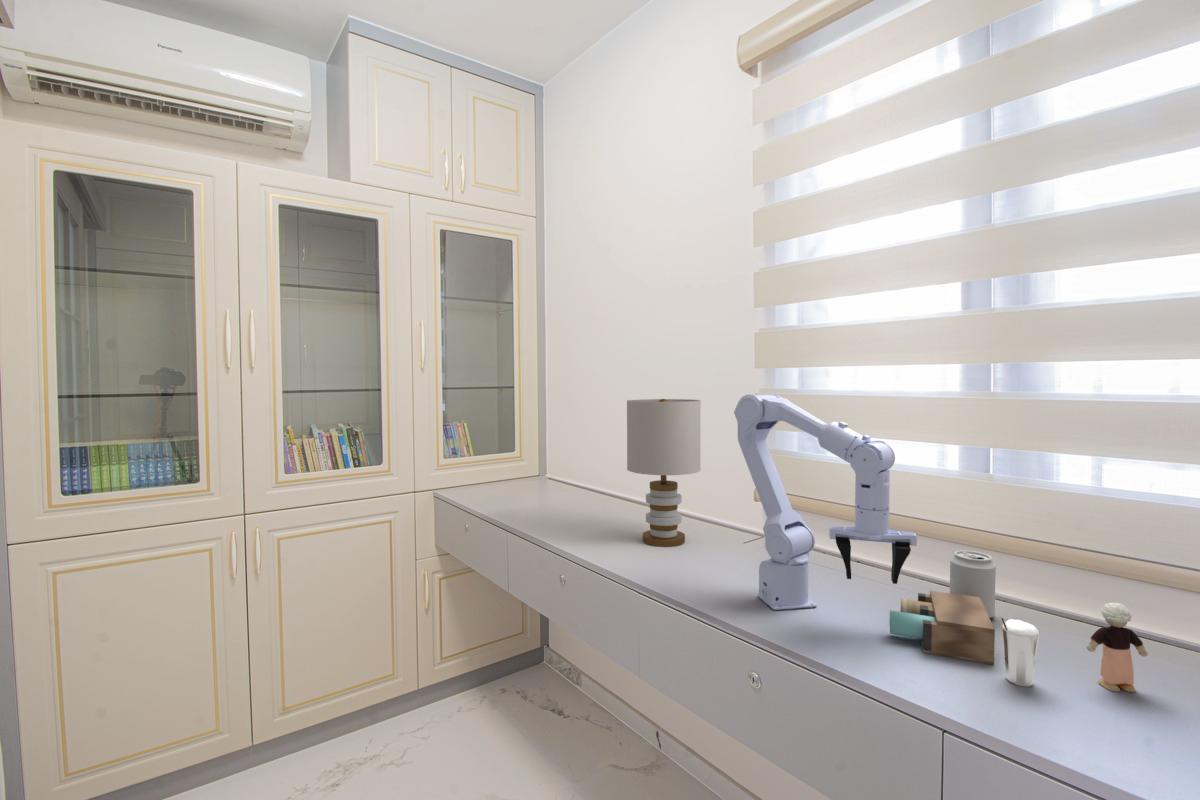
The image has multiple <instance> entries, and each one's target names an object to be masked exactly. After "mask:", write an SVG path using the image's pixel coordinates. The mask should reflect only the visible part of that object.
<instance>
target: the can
mask: <svg viewBox="0 0 1200 800" xmlns="http://www.w3.org/2000/svg"><path fill="white" fill-rule="evenodd" d="M953 554H954V555H953V556H952V557H951V558H950V561H949V593H952V594H959V595H966V596H974V597H980V599H981V601H982V603H983V605H984V608H985V610H986V612H987V614H988V616H989V618H990V619H991V618H993V617H995V616H996V615H995V613H996V576H997V575H996V574H997V573H996V572H997V571H996V569H997V568H996V566H997V565H996V564H995V562H993V557H992V556H991V555H990V554H987V553H984V552H980V551H975V550H964V549H963V550H961V549H960V550H956V551H954V553H953Z"/></svg>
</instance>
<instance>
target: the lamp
mask: <svg viewBox="0 0 1200 800" xmlns="http://www.w3.org/2000/svg"><path fill="white" fill-rule="evenodd" d="M701 468H702V467H701V400H700V399H688V398H687V399H685V398H684V399H682V398H681V399H680V398H677V399H676V398H673V399H672V398H658V399H657V398H656V399H655V398H653V399H652V398H649V399H648V398H647V399H628V400H626V470H627V471H628V472H630V473H635V474H640V475H649V476H660V479H658V480H653V481H650V482H649V492H648V493H646V494H645V503H646V504H648V505H649V512H647V513H646V514H645V522H646V523H647V524H648V525H649V527H650V530H646V531H644V532H643V533H642V542H643V544H644V543H645V544H646V545H649V546H653V547H661V548H672V547H679V546H681V545H683V544H685V542H686V535H685V533H684V532H681V531H680V530H678V527H679V525H680V524H682V522H683V521H682V514H681V513H679V512H678V508H679V507H678V506H679V505H681V503H682V501H683V499H682V497H683V496H682V495H681V494H680V493H678V487H679V486H678V482H677V481H675V480H667V476H682V475H691V474H696V473H697V474H698V473H700V472H701V470H702V469H701Z"/></svg>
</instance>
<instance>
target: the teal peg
mask: <svg viewBox="0 0 1200 800" xmlns="http://www.w3.org/2000/svg"><path fill="white" fill-rule="evenodd" d="M923 620H928V621H935V622H936V618H935V617H930V616H924V615H917V614H911V613H904V612H901V611H897V610H891V609H890V610H889V634H890V635H895V636H900V637H901V636H902V637H906V638H907V637H908V638H913V639H917V640H918V639H919V640H921V639H923Z"/></svg>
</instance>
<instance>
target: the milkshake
mask: <svg viewBox="0 0 1200 800" xmlns="http://www.w3.org/2000/svg"><path fill="white" fill-rule="evenodd" d="M1000 619H1001V621H1002V625H1001V627H1002V637H1003V647H1004V665H1005V666H1004V667H1005V679H1007V681H1009V683H1012V684H1013V685H1015V686H1020V687H1024V688H1025V687H1028V688H1029V687H1032V686H1033V685H1034V679H1035V669H1036V662H1037V661H1036V659H1037V651H1038V646H1039V641H1040V640H1039V639H1040V632H1039V630H1038V628H1037V627H1036V626H1035V625H1034V624H1031V623H1029V622H1026V621H1023V620H1021V619H1013V618H1010V619H1007V620H1006V621H1005V619H1004V618H1003V617H1001V616H1000Z"/></svg>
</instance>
